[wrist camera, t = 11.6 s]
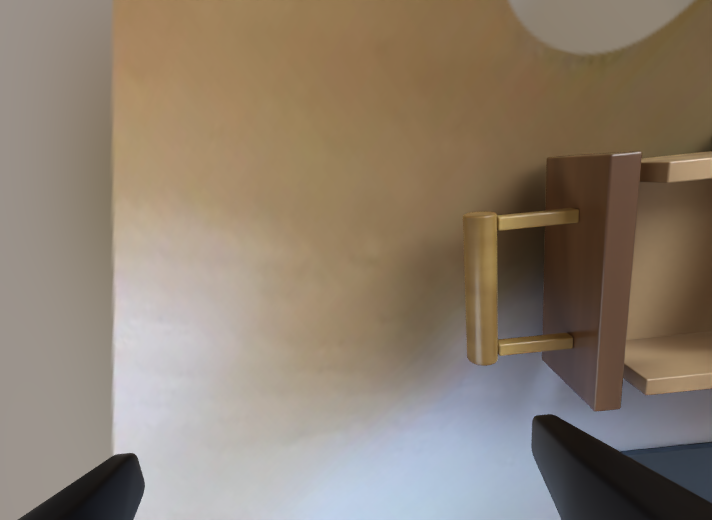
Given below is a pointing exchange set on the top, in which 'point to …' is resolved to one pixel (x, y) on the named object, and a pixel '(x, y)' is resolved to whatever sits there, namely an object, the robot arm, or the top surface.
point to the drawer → (609, 275)
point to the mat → (681, 465)
